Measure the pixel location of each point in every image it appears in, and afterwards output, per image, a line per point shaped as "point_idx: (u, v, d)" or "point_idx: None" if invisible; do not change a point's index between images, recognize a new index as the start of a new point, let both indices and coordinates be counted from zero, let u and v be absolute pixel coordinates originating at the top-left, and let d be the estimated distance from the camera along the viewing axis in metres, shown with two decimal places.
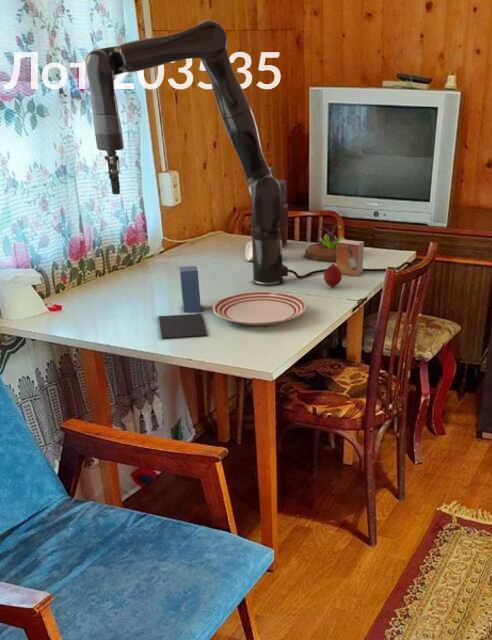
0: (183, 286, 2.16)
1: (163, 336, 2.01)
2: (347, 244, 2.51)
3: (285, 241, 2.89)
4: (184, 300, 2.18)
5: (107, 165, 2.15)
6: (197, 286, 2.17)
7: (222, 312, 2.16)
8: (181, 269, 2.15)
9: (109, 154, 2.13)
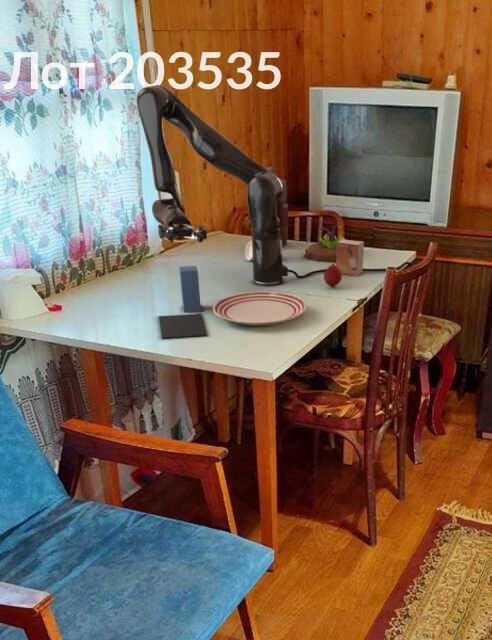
0: (183, 286, 2.16)
1: (163, 336, 2.01)
2: (347, 244, 2.51)
3: (285, 241, 2.89)
4: (184, 300, 2.18)
5: None
6: (197, 286, 2.17)
7: (222, 312, 2.16)
8: (181, 269, 2.15)
9: None
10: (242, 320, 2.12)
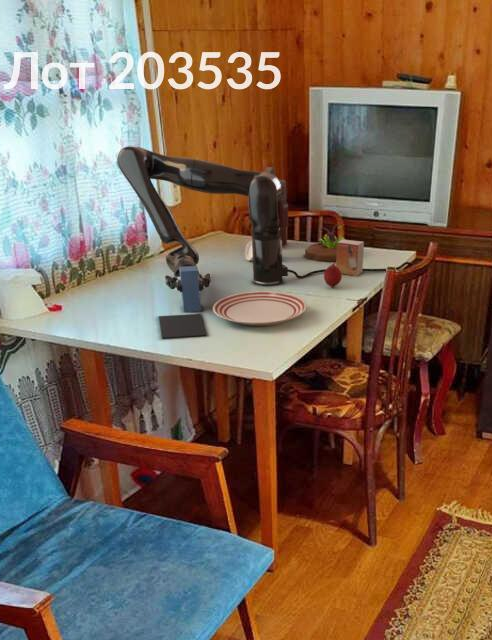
0: (183, 286, 2.16)
1: (163, 336, 2.01)
2: (347, 244, 2.51)
3: (285, 241, 2.89)
4: (184, 300, 2.18)
5: None
6: (197, 286, 2.17)
7: (222, 312, 2.16)
8: (181, 269, 2.15)
9: None
10: (242, 320, 2.12)
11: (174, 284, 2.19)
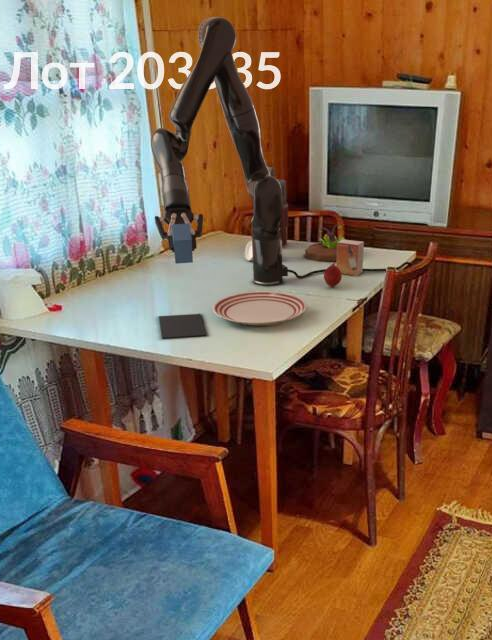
0: (176, 249, 2.07)
1: (163, 336, 2.01)
2: (347, 244, 2.51)
3: (285, 241, 2.89)
4: (176, 257, 2.11)
5: None
6: (190, 248, 2.08)
7: (222, 312, 2.16)
8: (174, 234, 2.04)
9: None
10: (242, 320, 2.12)
11: (165, 237, 2.08)
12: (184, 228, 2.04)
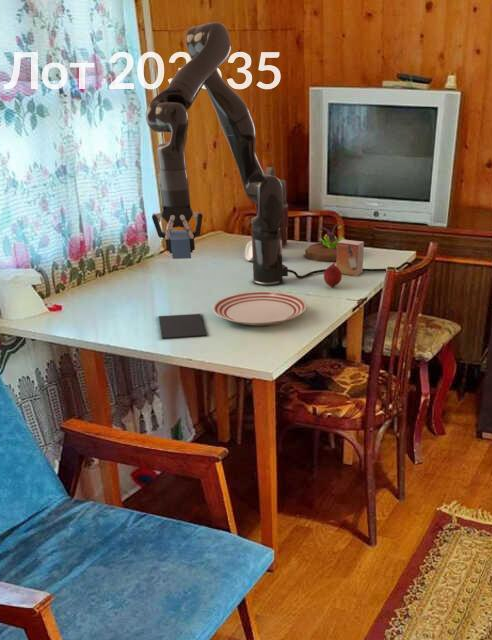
0: None
1: (163, 336, 2.01)
2: (347, 244, 2.51)
3: (285, 241, 2.89)
4: None
5: (187, 223, 2.01)
6: None
7: (222, 312, 2.16)
8: None
9: None
10: (242, 320, 2.12)
11: (195, 236, 2.05)
12: None
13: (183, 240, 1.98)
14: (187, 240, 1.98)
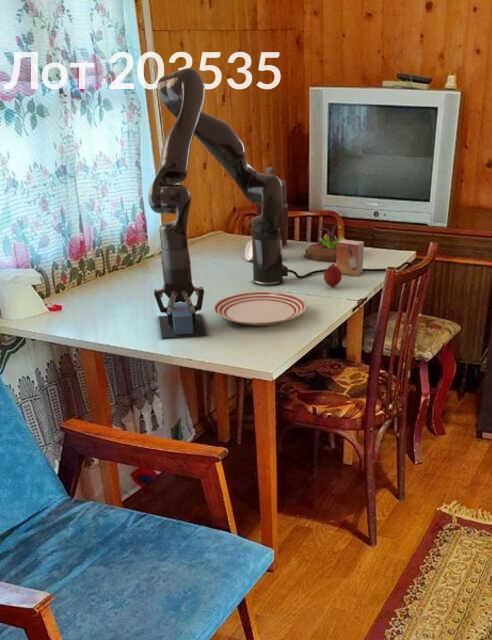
0: None
1: (163, 336, 2.01)
2: (347, 244, 2.51)
3: (285, 241, 2.89)
4: None
5: (189, 298, 2.03)
6: None
7: (222, 312, 2.16)
8: None
9: None
10: (242, 320, 2.12)
11: None
12: None
13: (186, 317, 2.00)
14: (189, 317, 2.00)
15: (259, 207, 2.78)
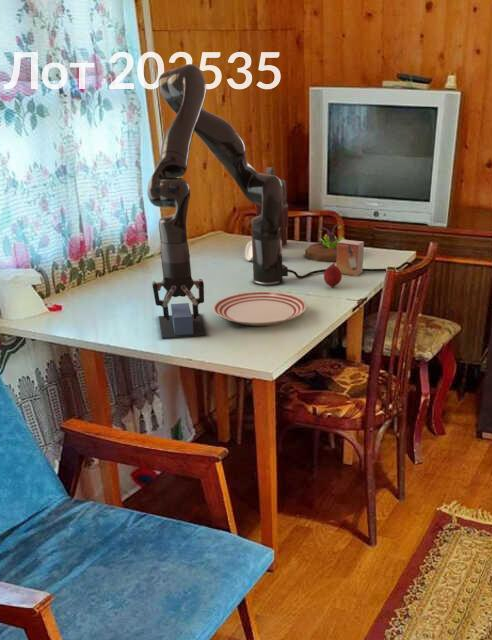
0: None
1: (163, 336, 2.01)
2: (347, 244, 2.51)
3: (285, 241, 2.89)
4: None
5: (189, 291, 2.02)
6: None
7: (222, 312, 2.16)
8: None
9: None
10: (242, 320, 2.12)
11: None
12: None
13: (186, 317, 2.00)
14: (190, 317, 2.00)
15: (259, 207, 2.78)
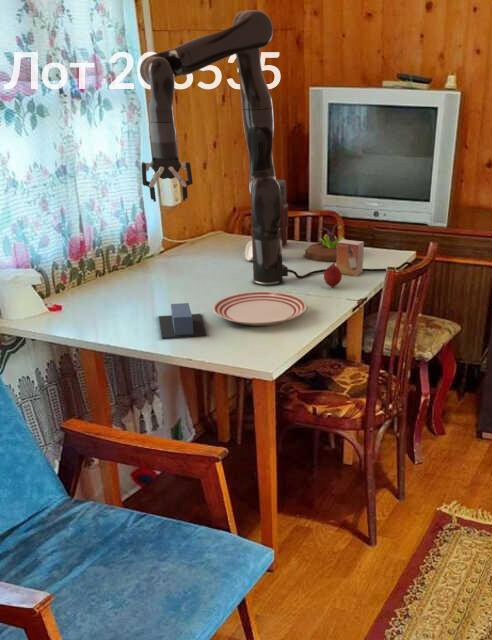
0: None
1: (163, 336, 2.01)
2: (347, 244, 2.51)
3: (285, 241, 2.89)
4: None
5: (177, 173, 2.13)
6: None
7: (222, 312, 2.16)
8: None
9: None
10: (242, 320, 2.12)
11: (188, 184, 2.17)
12: None
13: (186, 317, 2.00)
14: (190, 317, 2.00)
15: None
